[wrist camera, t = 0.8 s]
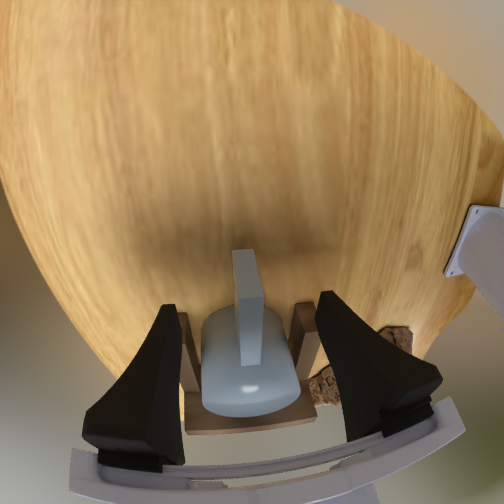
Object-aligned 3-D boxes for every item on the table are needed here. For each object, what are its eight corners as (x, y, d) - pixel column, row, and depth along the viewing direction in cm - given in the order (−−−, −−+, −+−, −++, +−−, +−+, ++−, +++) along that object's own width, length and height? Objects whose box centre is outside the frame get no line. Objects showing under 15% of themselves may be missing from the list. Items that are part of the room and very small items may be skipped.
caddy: (313, 301, 21) (341, 375, 16) (297, 362, 27) (314, 421, 21) (167, 313, 20) (160, 394, 14) (187, 372, 25) (188, 435, 20)
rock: (385, 313, 25) (410, 357, 20) (420, 333, 29) (440, 367, 24) (290, 388, 31) (299, 428, 26) (339, 395, 35) (350, 427, 30)
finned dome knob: (294, 232, 17) (329, 305, 12) (279, 350, 25) (293, 410, 20) (184, 239, 17) (174, 318, 11) (205, 357, 24) (208, 419, 19)
